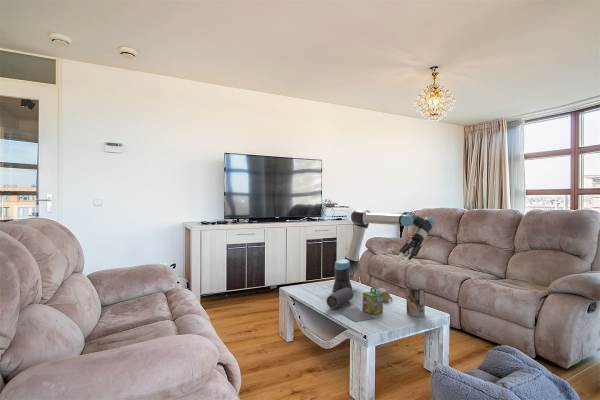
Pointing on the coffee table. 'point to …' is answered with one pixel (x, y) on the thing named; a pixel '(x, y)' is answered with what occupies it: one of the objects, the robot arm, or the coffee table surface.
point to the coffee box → (415, 301)
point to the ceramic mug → (384, 294)
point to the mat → (355, 314)
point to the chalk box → (372, 302)
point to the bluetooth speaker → (339, 298)
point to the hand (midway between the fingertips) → (401, 261)
